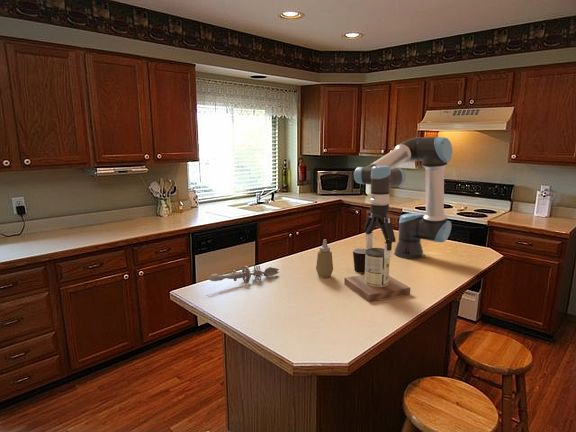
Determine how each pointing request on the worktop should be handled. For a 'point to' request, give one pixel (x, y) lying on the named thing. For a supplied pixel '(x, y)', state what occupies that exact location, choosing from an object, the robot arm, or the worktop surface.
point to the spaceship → (245, 274)
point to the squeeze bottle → (324, 261)
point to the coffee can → (376, 267)
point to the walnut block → (376, 288)
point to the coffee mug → (359, 260)
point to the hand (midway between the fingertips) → (377, 252)
